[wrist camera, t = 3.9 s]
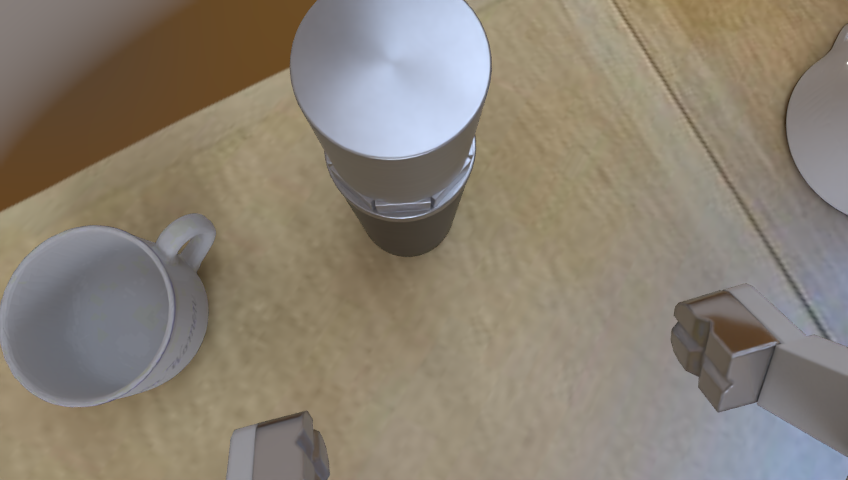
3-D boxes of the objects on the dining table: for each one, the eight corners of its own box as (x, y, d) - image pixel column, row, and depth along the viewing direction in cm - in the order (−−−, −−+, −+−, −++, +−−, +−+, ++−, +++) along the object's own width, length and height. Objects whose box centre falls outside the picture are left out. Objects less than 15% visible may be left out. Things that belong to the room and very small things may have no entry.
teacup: (123, 419, 38) (45, 446, 30) (50, 294, 39) (-43, 289, 31) (287, 309, 39) (254, 307, 31) (211, 191, 41) (161, 161, 33)
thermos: (450, 163, 41) (473, 53, 24) (457, 254, 40) (485, 207, 23) (359, 169, 41) (315, 61, 24) (363, 260, 40) (320, 217, 23)
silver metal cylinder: (463, 75, 25) (484, -37, 17) (473, 207, 24) (500, 154, 16) (328, 82, 25) (286, -27, 17) (333, 215, 24) (291, 165, 16)
